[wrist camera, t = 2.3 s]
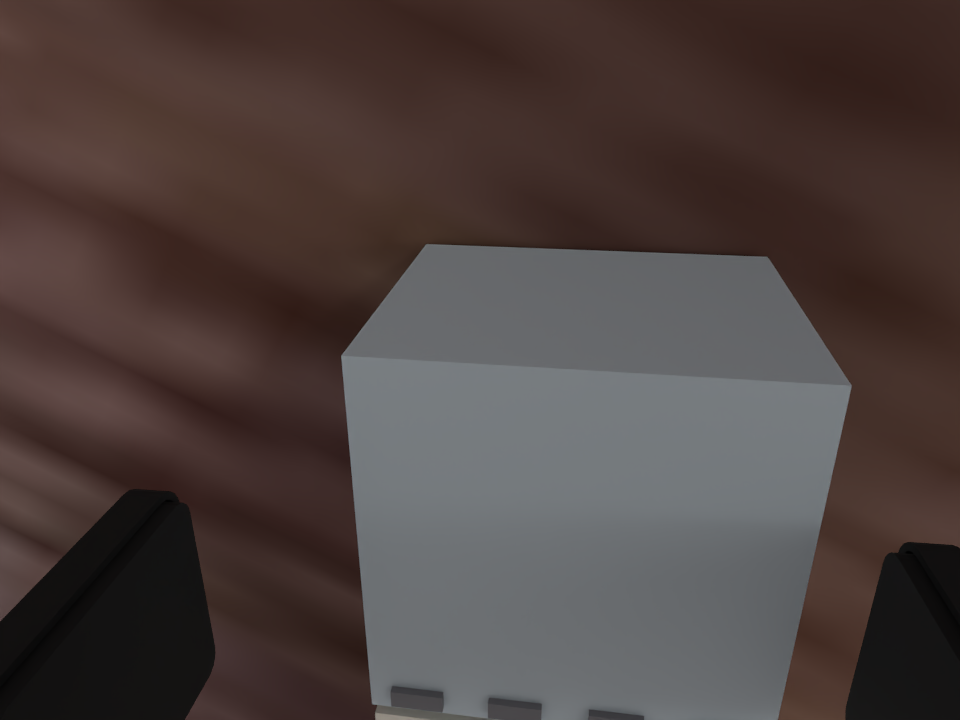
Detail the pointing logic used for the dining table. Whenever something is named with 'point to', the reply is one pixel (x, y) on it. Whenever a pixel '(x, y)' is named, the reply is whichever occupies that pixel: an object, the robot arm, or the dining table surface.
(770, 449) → the grey box
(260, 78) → the dining table surface
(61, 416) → the dining table surface
